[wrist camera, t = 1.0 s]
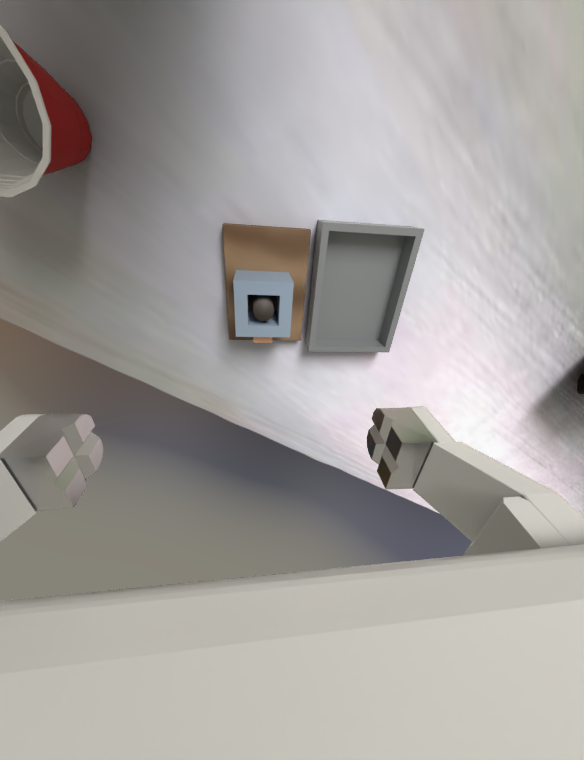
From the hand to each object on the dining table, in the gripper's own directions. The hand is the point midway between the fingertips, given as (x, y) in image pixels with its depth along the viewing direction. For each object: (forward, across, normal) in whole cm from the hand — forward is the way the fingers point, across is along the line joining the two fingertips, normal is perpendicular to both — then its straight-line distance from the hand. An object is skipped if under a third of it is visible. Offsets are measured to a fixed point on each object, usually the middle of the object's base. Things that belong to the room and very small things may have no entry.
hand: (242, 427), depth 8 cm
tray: (+31, -14, +3) cm, 34 cm away
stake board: (+31, -2, +3) cm, 32 cm away
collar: (+30, -1, +4) cm, 30 cm away
